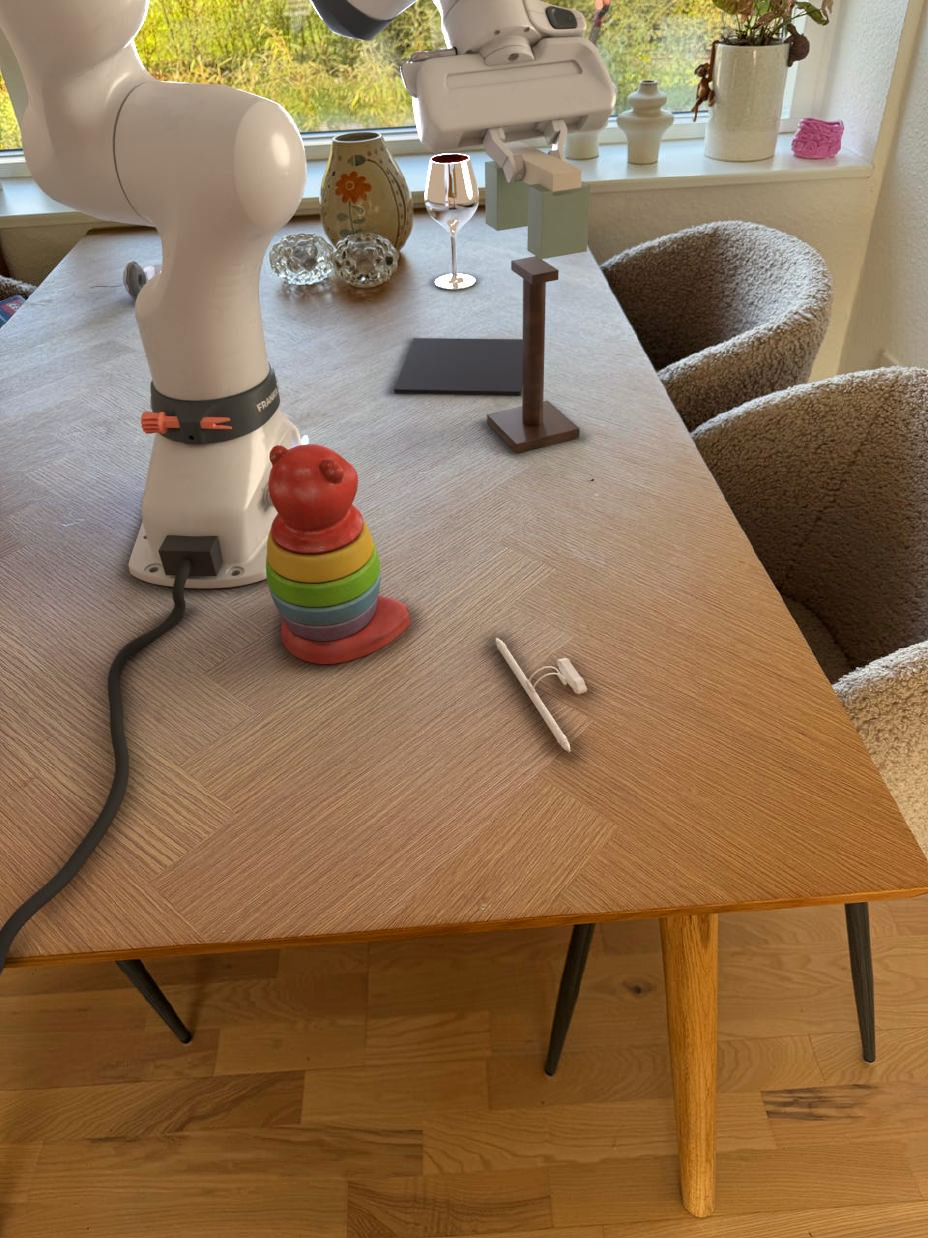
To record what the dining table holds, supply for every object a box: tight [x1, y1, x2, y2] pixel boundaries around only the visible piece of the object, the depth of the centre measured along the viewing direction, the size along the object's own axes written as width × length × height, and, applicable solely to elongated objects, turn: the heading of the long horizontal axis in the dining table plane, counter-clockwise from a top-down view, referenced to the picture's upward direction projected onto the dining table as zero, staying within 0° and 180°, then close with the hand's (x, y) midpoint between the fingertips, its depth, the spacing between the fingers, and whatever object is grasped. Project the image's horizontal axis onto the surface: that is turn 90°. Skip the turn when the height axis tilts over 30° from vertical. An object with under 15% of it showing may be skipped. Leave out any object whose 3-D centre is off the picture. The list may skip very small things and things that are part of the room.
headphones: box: [89, 260, 162, 301], centre depth 145 cm, size 17×6×20 cm
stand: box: [486, 255, 581, 454], centre depth 101 cm, size 8×8×19 cm
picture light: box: [494, 637, 588, 753], centre depth 74 cm, size 14×4×2 cm, turn 21°
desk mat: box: [393, 337, 523, 396], centre depth 121 cm, size 16×16×1 cm
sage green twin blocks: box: [484, 140, 591, 260], centre depth 91 cm, size 5×13×8 cm, turn 23°
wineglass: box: [423, 153, 480, 291], centre depth 140 cm, size 8×8×18 cm
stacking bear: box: [266, 443, 411, 665], centre depth 75 cm, size 11×10×18 cm
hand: (538, 174), depth 89 cm, fingers closed on sage green twin blocks, 3 cm apart
